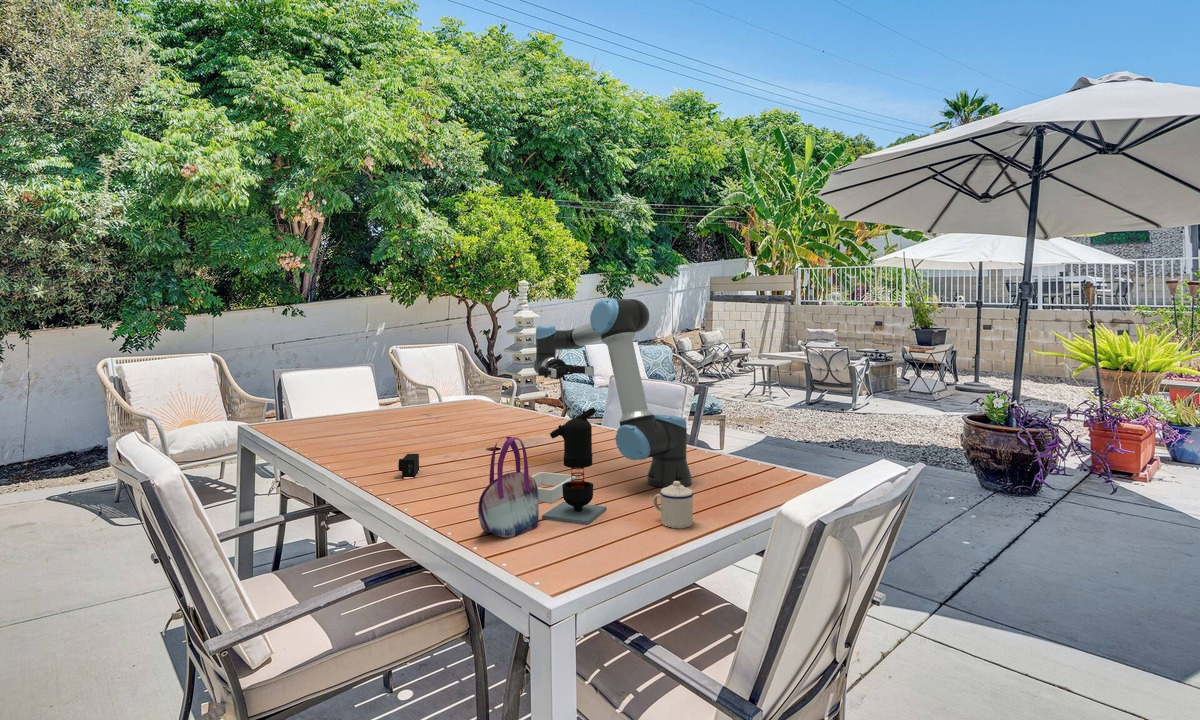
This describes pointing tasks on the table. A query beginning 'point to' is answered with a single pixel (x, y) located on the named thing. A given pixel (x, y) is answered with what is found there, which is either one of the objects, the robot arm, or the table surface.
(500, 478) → the handbag
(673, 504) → the teacup with lid
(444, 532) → the table surface
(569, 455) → the filter
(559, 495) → the white open rectangular box
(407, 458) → the digital camera
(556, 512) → the slate mat
